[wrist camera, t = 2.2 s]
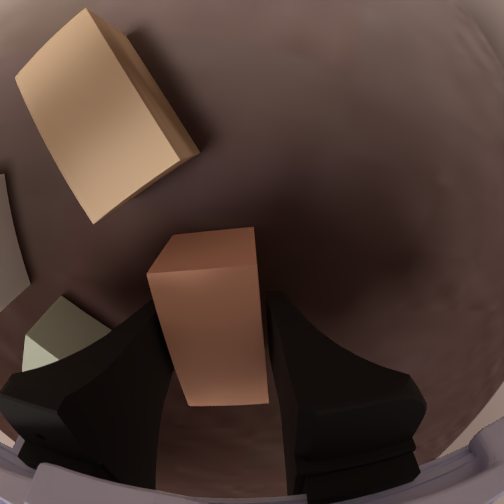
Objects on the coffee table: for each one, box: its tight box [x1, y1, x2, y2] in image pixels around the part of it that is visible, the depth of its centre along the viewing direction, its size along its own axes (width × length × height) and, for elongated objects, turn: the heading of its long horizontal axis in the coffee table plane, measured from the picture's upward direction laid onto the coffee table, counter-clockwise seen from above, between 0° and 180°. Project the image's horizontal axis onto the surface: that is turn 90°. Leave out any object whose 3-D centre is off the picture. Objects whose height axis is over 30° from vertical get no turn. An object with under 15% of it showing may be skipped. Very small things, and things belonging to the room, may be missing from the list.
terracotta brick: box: [147, 227, 269, 406], centre depth 11 cm, size 6×3×4 cm, turn 5°
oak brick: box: [15, 8, 200, 224], centre depth 8 cm, size 6×3×4 cm, turn 30°
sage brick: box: [22, 296, 111, 372], centre depth 12 cm, size 6×3×4 cm, turn 145°
